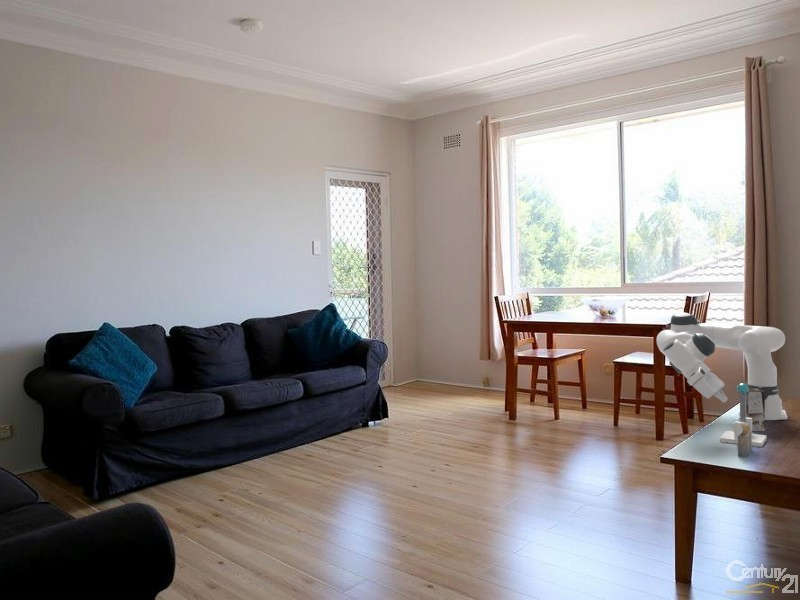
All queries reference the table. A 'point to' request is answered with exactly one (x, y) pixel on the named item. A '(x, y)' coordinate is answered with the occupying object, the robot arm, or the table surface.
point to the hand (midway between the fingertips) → (726, 401)
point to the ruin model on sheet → (745, 441)
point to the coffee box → (756, 408)
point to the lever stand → (733, 436)
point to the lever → (742, 401)
